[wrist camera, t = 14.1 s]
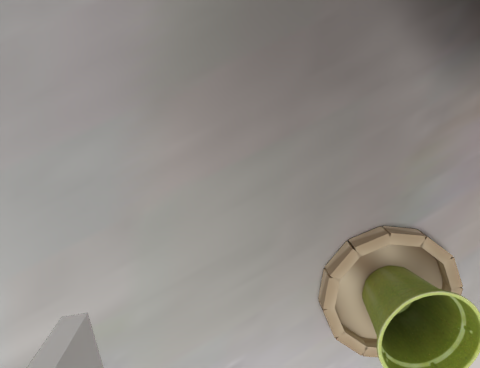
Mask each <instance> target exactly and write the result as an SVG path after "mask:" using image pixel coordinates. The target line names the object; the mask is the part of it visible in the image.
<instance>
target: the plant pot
mask: <svg viewBox="0 0 480 368" xmlns="http://www.w3.org/2000/svg"><path fill="white" fill-rule="evenodd" d="M362 299H363V302H364V304H365V307H366V310H367V312H368V314H369V317H370V319H371V322H372V324H373V327H374V330H375V332H376V335H377V353H378V357H379V360H380V362H381V364H382V366H383V368H469V366H470V365H471V364H472V363H473V362H474V360H475V359H476V358H477V356H478V354H479V352H480V312H479V311H478V309H477V308H476V307H475V305H473V304H472V303H471V302H470V301H469V300H468V299H466V298H465V297H463V296H461V295H459V294H456V293H454V292H450V291H445V290H442V289H439V288H437V287H435V286H433V285H432V284H430V283H429V282H427V281H425V280H424V279H422V278H421V277H419V276H417V275H416V274H414V273H413V272H411V271H410V270H408V269H406V268H404V267H399V266H391V265H390V266H384V267H382V268H379V269H377V270H376V271H374V272H373V273H372V274H371V275H370V276H369V277H368V278H367V279H366V281H365V285H364V289H363V292H362Z"/></svg>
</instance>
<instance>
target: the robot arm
mask: <svg viewBox="0 0 480 368" xmlns="http://www.w3.org/2000/svg"><path fill="white" fill-rule="evenodd" d="M27 368H103V364H102V361H101V357H100V354H99V350H98V347H97V343H96V340H95V336H94V333H93V330H92V326H91V323H90V319H89V316H88V313H83V314H77V315H70V316H64V317H61V319H60V320H59V322H58V323H57V324H56V326H55V327H54V329H53V330H52V332H51V333H50V335H49V336H48V337H47V339H46V340H45V342H44V343H43V345H42V346H41V348H40V349H39V350H38V352H37V353H36V355H35V356H34V358H33V359H32V361H31V362H30V364H29V365H28V366H27Z"/></svg>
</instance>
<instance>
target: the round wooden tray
mask: <svg viewBox="0 0 480 368" xmlns="http://www.w3.org/2000/svg"><path fill="white" fill-rule="evenodd" d="M349 242H350V243H349ZM349 242H347V241H346V242H345V243H344V245H343V246H342V247H341V248H340V249H339V250H338V252H337V253H336V254H335V255H334V256H333V257H332V259H331V260H330V261H329V262H328V263H327V265H326V266H325V268H326V269H324V271H323V276H322V281H321V287H320V292H319V298H318V299H319V303H320V305H321V307H322V310H323V312H324V314H325V317H326V319H327V321H328V324H329V326H330V328H331V330H332V332H333V335H334V337H335V338H336V340H338V341H339V342H341V343H343V344H344V345H346V346H347V347H349V348H350V349H352V350H353V351H355V352H356V353H358V354H360V355H363V356H367V357H378V353H377V335H376V332H375V330H374V327H373V324H372V322H371V319H370V317H369V314H368V312H367V310H366V307H365V304H364V302H363V299H362V292H363V289H364V285H365V281H366V279H367V278H368V277H369V276H370V275H371V274H372V273H373V272H374V271H376V270H377V269H379V268H382V267H384V266H390V265H391V266H399V267H404V268H406V269H408V270H410V271H411V272H413V273H414V274H416V275H417V276H419V277H421V278H422V279H424V280H425V281H427V282H429V283H430V284H432V285H433V286H435V287H437V288H439V289H442V290H445V291H450V292H454V293H456V294H459V295H461V293H462V290H463V288H462V287H463V285H462V282H461V279H460V275H459V272H458V269H457V266H456V263H455V259H454V257H452V255H451V254H450V253H448V252H447V251H446V250H444V249H443V248H442V247H440V246H439V245H438V244H436V243H435V242H434V241H432V240H431V239H430V238H428V237H427V236H426V235H424V234H423V233H422V232H420V231H419V230H417V229H411V228H401V227H390V226H383V227H381V226H380V227H377V228H375V229H373V230H370V231H368V232H365V233H363V234H361V235H358V236H356V237H353V238H351V239H349Z"/></svg>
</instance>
